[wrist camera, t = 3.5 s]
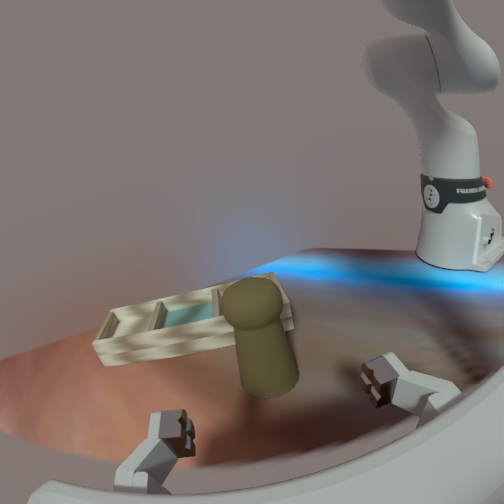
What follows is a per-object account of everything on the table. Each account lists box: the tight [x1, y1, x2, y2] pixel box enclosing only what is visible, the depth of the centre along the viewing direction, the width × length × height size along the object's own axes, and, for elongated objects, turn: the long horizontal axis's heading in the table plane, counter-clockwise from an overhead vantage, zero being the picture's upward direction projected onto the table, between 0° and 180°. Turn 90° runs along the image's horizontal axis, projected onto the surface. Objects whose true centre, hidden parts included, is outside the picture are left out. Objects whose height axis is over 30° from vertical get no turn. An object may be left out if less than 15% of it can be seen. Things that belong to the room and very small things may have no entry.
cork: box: [221, 277, 299, 399], centre depth 24 cm, size 6×6×11 cm
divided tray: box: [92, 272, 294, 367], centre depth 36 cm, size 26×9×4 cm, turn 99°
